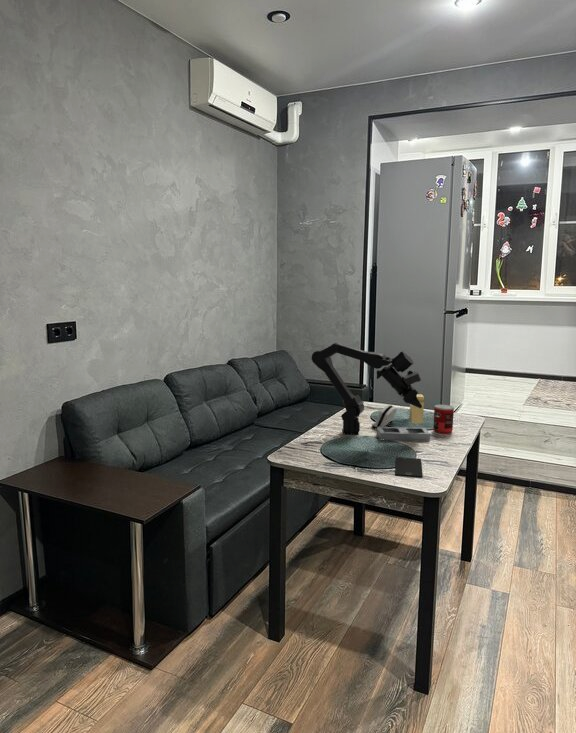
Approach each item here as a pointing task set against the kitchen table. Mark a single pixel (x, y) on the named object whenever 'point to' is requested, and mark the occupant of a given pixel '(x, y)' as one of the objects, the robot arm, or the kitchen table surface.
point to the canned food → (443, 419)
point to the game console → (385, 416)
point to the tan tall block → (417, 411)
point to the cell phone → (408, 467)
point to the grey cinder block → (403, 434)
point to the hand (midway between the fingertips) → (420, 406)
